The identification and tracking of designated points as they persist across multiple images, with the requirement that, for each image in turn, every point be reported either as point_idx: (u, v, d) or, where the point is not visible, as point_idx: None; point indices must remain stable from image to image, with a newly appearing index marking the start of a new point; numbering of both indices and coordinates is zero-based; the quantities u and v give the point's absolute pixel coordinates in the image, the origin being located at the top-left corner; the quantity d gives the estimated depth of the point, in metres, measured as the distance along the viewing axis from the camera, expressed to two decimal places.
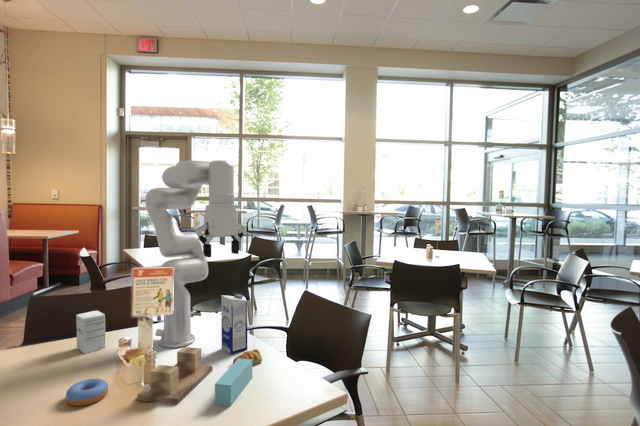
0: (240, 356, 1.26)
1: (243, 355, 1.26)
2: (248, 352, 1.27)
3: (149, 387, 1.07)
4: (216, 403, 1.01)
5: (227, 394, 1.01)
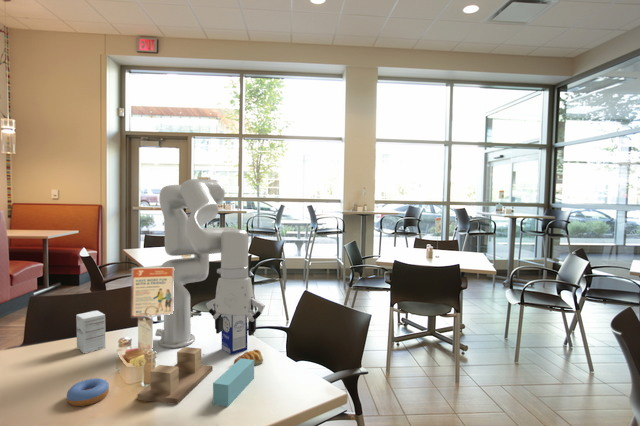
0: (241, 356, 1.25)
1: (244, 355, 1.25)
2: (249, 352, 1.27)
3: (149, 387, 1.07)
4: (214, 402, 1.01)
5: (224, 393, 1.01)
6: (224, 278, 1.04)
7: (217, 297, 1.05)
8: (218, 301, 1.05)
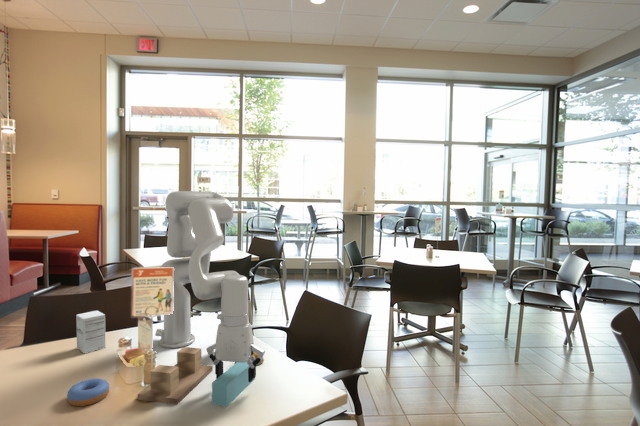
0: None
1: None
2: None
3: (149, 387, 1.07)
4: (213, 402, 1.02)
5: (223, 393, 1.01)
6: (224, 325, 1.05)
7: (217, 344, 1.06)
8: (218, 348, 1.06)
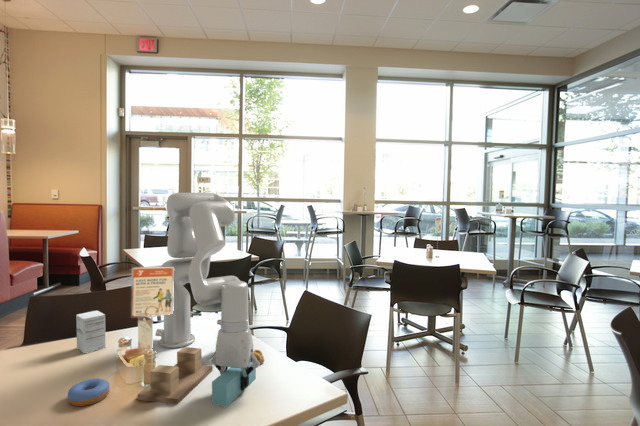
0: None
1: None
2: None
3: (149, 387, 1.07)
4: (213, 401, 1.02)
5: (223, 392, 1.01)
6: (224, 331, 1.05)
7: (217, 349, 1.06)
8: (218, 353, 1.06)
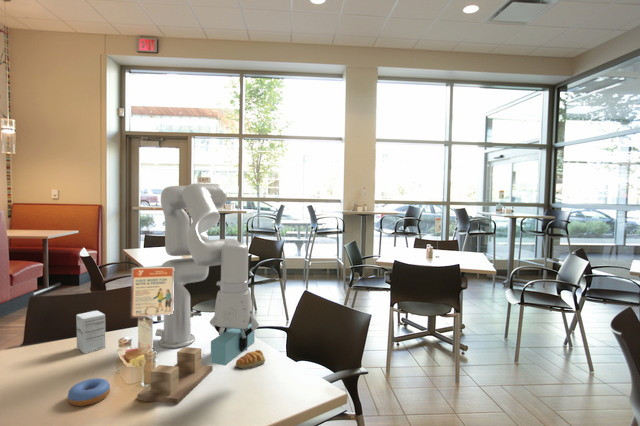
0: (243, 357, 1.25)
1: (246, 356, 1.25)
2: (251, 353, 1.26)
3: (149, 387, 1.07)
4: (212, 360, 1.02)
5: (222, 352, 1.01)
6: (224, 292, 1.04)
7: (216, 310, 1.06)
8: (217, 314, 1.06)
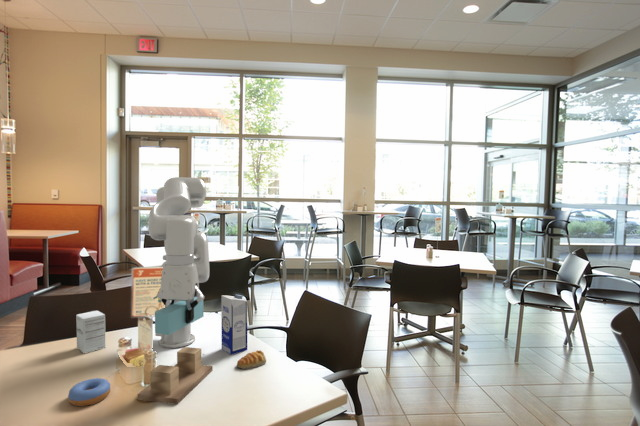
0: (244, 358, 1.24)
1: (247, 357, 1.24)
2: (252, 353, 1.26)
3: (149, 387, 1.07)
4: (156, 331, 1.04)
5: (165, 321, 1.03)
6: (168, 264, 1.07)
7: (162, 283, 1.09)
8: (163, 287, 1.09)
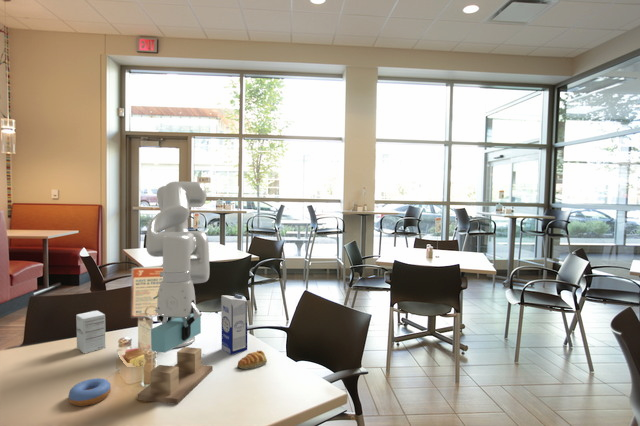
0: (245, 358, 1.24)
1: (248, 357, 1.24)
2: (252, 354, 1.26)
3: (149, 387, 1.07)
4: (152, 348, 1.04)
5: (161, 339, 1.03)
6: (165, 281, 1.08)
7: (159, 300, 1.09)
8: (160, 304, 1.09)
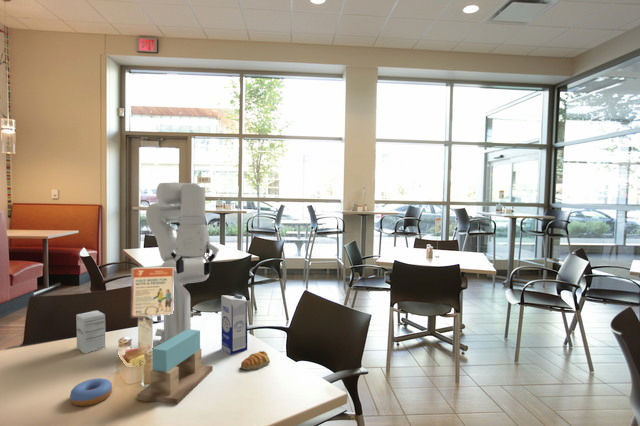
0: (248, 359, 1.24)
1: (251, 358, 1.24)
2: (255, 354, 1.25)
3: (149, 387, 1.07)
4: (153, 368, 1.05)
5: (163, 359, 1.04)
6: (183, 224, 1.20)
7: (177, 241, 1.22)
8: (178, 245, 1.22)
